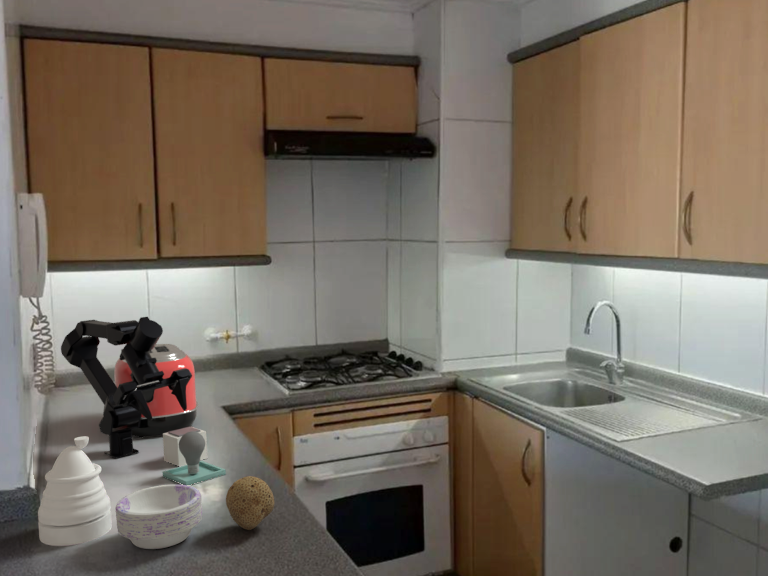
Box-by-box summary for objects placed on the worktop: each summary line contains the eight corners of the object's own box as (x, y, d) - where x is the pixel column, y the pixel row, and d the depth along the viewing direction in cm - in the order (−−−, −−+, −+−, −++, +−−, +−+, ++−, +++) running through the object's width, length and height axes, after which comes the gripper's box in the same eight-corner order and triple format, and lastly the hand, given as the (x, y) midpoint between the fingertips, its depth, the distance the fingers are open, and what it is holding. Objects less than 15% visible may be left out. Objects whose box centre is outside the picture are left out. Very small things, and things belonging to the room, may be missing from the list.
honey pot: (107, 513, 147) (102, 427, 146) (116, 536, 136) (110, 442, 135) (37, 527, 141) (31, 437, 140) (41, 551, 130) (34, 454, 129)
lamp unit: (164, 461, 180) (162, 432, 179) (193, 452, 186) (192, 424, 185) (179, 466, 175) (177, 437, 175) (208, 458, 181) (207, 429, 181)
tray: (162, 476, 168) (162, 471, 168) (201, 465, 176) (201, 460, 176) (186, 486, 161) (186, 481, 161) (225, 474, 169) (225, 469, 169)
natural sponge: (255, 514, 144) (253, 466, 143) (285, 525, 138) (283, 475, 138) (218, 529, 138) (215, 478, 137) (247, 542, 132) (245, 489, 131)
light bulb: (186, 469, 172) (184, 428, 171) (210, 469, 171) (208, 428, 170) (176, 477, 166) (173, 435, 165) (200, 478, 165) (198, 435, 164)
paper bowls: (103, 540, 134) (101, 498, 134) (178, 516, 145) (176, 477, 144) (141, 566, 123) (138, 521, 123) (218, 537, 134) (216, 496, 133)
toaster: (204, 433, 204) (200, 352, 202) (118, 444, 196) (113, 360, 194) (189, 408, 234) (185, 337, 232) (113, 417, 225) (109, 344, 223)
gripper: (164, 373, 189) (190, 422, 183) (95, 390, 175) (122, 443, 170) (178, 348, 183) (206, 398, 177) (108, 363, 169) (136, 418, 163)
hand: (168, 414), depth 172 cm, fingers open, 9 cm apart
